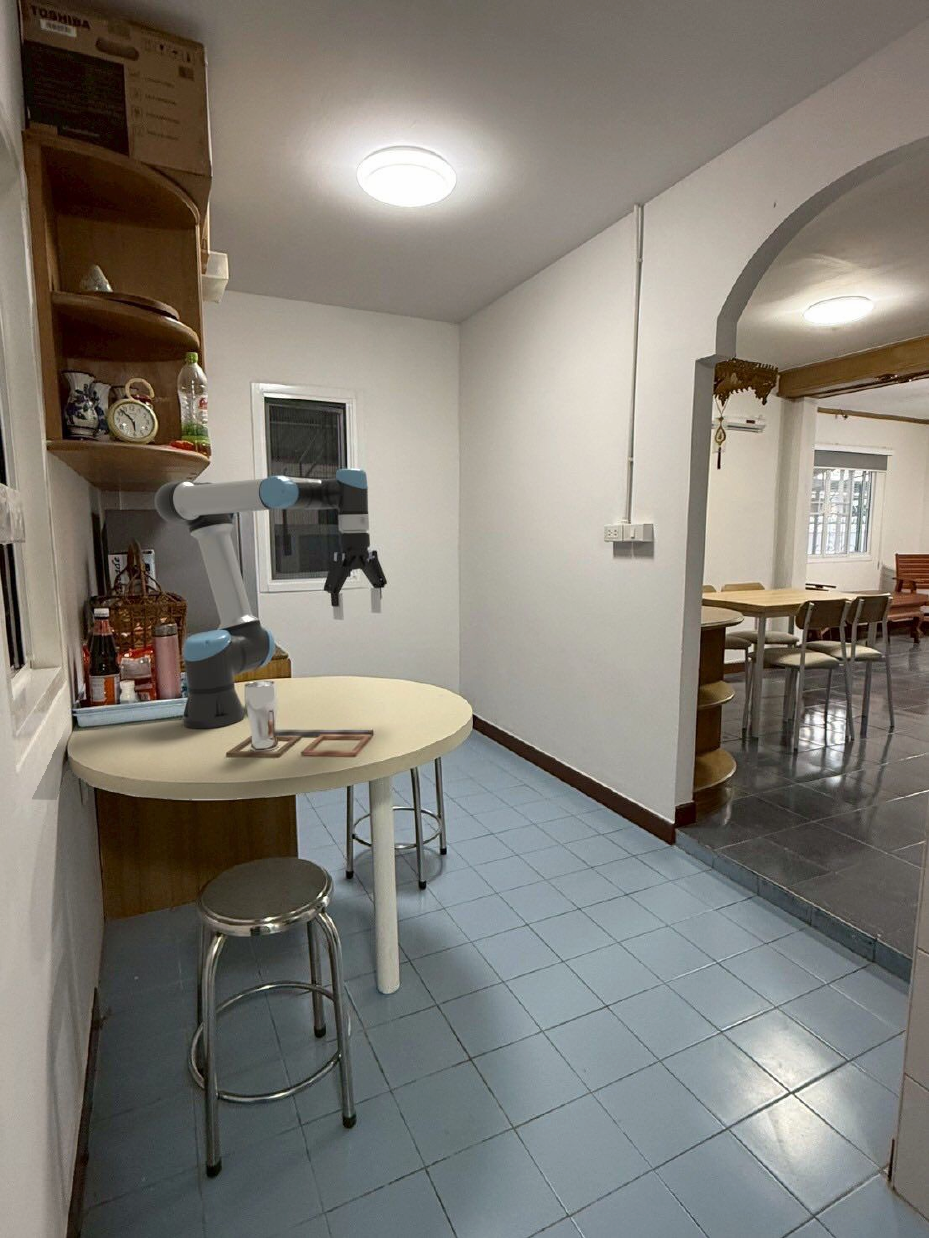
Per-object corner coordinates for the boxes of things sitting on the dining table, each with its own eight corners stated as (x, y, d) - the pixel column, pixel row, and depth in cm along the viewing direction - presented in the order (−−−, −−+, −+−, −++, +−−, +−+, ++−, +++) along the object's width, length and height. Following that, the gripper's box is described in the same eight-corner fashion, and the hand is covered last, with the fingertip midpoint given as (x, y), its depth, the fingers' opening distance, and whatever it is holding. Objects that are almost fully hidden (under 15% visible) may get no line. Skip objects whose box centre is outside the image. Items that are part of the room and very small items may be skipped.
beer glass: (267, 740, 155) (262, 678, 153) (287, 745, 151) (282, 681, 149) (242, 749, 150) (237, 685, 148) (262, 754, 146) (256, 688, 144)
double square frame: (226, 756, 145) (225, 751, 145) (258, 734, 161) (257, 729, 161) (354, 757, 141) (353, 752, 141) (374, 734, 157) (374, 729, 156)
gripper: (327, 533, 152) (332, 623, 155) (398, 530, 172) (401, 610, 175) (305, 533, 156) (310, 621, 160) (377, 531, 177) (380, 609, 180)
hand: (358, 616), depth 167 cm, fingers open, 13 cm apart
